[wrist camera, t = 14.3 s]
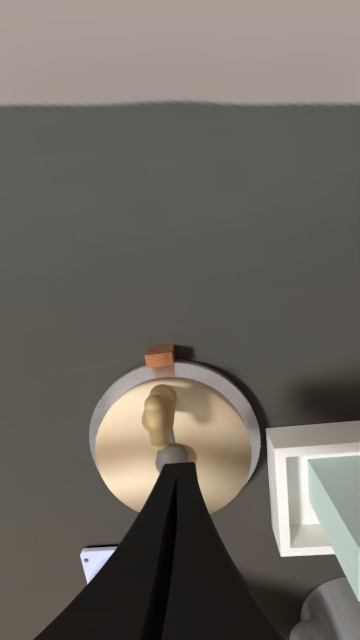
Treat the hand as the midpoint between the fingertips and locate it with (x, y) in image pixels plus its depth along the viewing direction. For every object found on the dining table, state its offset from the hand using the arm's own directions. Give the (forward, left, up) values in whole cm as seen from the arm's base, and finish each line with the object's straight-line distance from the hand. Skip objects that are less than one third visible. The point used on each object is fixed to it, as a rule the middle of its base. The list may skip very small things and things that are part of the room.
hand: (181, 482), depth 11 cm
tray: (-10, -11, -10) cm, 18 cm away
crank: (-5, +2, -9) cm, 10 cm away
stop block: (-10, -11, -10) cm, 18 cm away
